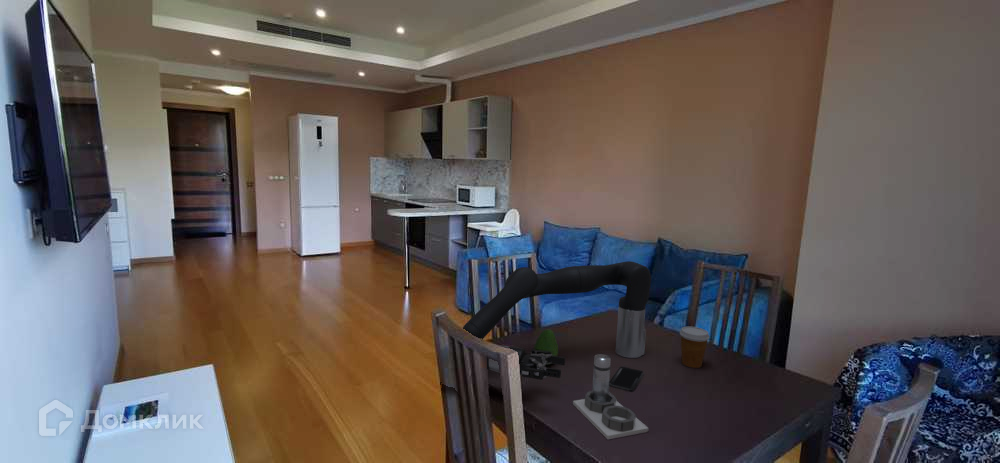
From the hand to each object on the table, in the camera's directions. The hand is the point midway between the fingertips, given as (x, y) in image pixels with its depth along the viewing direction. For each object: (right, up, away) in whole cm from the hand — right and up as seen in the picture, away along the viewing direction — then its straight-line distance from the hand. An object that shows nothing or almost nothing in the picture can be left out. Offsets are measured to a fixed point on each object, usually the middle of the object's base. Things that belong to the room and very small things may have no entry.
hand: (562, 367), depth 133 cm
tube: (+10, -10, -2) cm, 14 cm away
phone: (+23, -9, +17) cm, 30 cm away
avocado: (-2, -7, +27) cm, 28 cm away
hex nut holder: (+12, -12, -6) cm, 17 cm away
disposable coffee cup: (+49, -8, +31) cm, 58 cm away
